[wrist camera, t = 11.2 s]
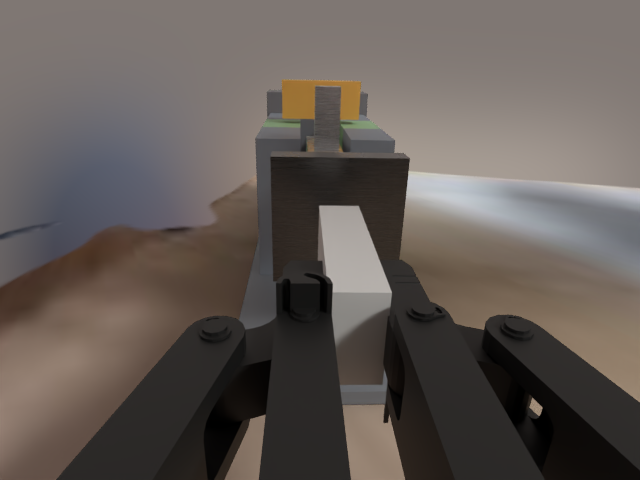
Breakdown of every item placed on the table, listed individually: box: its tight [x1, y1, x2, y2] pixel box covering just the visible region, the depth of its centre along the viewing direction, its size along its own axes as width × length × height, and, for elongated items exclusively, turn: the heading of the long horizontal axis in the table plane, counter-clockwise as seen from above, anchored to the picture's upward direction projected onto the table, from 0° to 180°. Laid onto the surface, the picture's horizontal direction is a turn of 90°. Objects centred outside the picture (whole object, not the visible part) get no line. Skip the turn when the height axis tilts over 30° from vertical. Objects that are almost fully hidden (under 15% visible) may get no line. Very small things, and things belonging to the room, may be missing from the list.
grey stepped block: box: [239, 90, 395, 405], centre depth 33 cm, size 32×11×13 cm, turn 2°
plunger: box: [270, 86, 410, 282], centre depth 27 cm, size 17×6×8 cm, turn 2°
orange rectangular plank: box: [282, 79, 361, 120], centre depth 36 cm, size 2×6×3 cm, turn 93°
